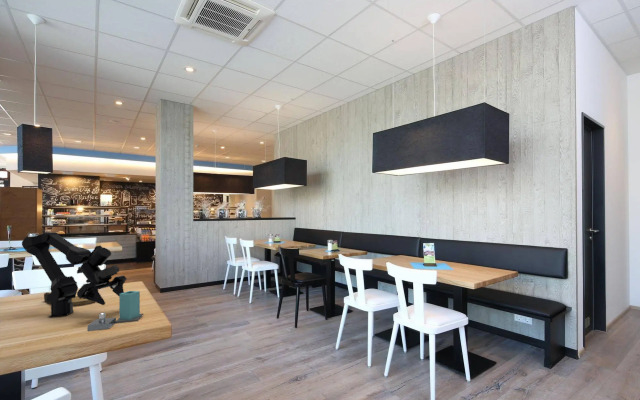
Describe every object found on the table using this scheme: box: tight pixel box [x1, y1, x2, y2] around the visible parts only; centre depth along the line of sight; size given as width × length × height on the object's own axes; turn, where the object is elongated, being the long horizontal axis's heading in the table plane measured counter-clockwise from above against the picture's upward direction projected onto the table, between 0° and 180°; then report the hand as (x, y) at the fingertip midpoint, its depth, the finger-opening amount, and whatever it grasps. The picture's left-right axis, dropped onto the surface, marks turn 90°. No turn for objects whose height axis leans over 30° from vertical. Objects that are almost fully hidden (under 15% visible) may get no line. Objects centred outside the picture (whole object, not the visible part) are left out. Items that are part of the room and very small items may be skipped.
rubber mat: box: [115, 313, 144, 324], centre depth 129 cm, size 8×8×1 cm
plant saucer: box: [71, 295, 95, 307], centre depth 157 cm, size 15×15×3 cm
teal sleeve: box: [118, 290, 141, 320], centre depth 129 cm, size 5×5×10 cm
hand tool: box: [43, 292, 51, 305], centre depth 157 cm, size 19×4×5 cm, turn 51°
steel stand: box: [87, 311, 117, 332], centre depth 121 cm, size 7×7×5 cm
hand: (114, 301), depth 131 cm, fingers open, 9 cm apart
